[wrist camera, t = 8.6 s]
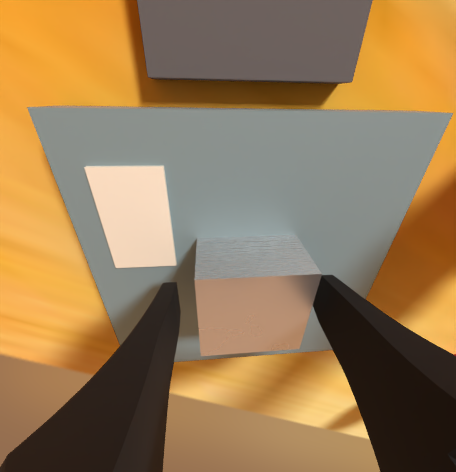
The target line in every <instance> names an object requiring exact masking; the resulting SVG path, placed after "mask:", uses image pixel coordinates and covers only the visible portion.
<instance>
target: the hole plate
mask: <svg viewBox="0 0 456 472" xmlns="http://www.w3.org/2000/svg"><path fill="white" fill-rule="evenodd" d="M27 108H28V111H29V113H30V116H31V118H32V121H33V123H34V126H35V129H36V131H37V134H38V136H39V139H40V141H41V144H42V146H43V149H44V152H45V154H46V157H47V159H48V162H49V164H50V167H51V170H52V172H53V175H54V177H55V180H56V182H57V185H58V188H59V190H60V193H61V195H62V198H63V200H64V203H65V205H66V208H67V211H68V213H69V216H70V218H71V221H72V223H73V226H74V229H75V231H76V234H77V236H78V239H79V241H80V244H81V247H82V249H83V252H84V254H85V257H86V259H87V262H88V264H89V267H90V270H91V272H92V275H93V277H94V280H95V282H96V285H97V288H98V290H99V293H100V295H101V298H102V300H103V303H104V305H105V308H106V311H107V313H108V316H109V318H110V321H111V323H112V326H113V329H114V331H115V334H116V336H117V339H118V341H119V344H120V346H121V344H122V343H123V342H124V341H125V339H126V338H127V337H128V335H129V334H130V333H131V331H132V330H133V329H134V327H135V326H136V325H137V323H138V322H139V320H140V319H141V318H142V316H143V315H144V313H145V312H146V310H147V309H148V307H149V305H150V304H151V302H152V301H153V299H154V297H155V296H156V294H157V292H158V290H159V289H160V287H161V285H162V284H163V283H166V282H177V288H178V295H179V303H180V310H181V314H180V328H179V336H178V342H177V348H176V353H175V359H174V362H180V361H193V360H207V359H220V358H233V357H246V356H259V355H273V354H286V353H299V352H312V351H325V350H333V349H332V347H331V345H330V343H329V341H328V339H327V337H326V335H325V334H324V332H323V330H322V328H321V326H320V323H319V321H318V319H317V316H316V313H315V310H314V307H313V305H312V309H311V312H310V315H309V319H308V322H307V325H306V328H305V332H304V335H303V338H302V342H301V345H300V348H299V349H291V350H278V351H265V352H251V353H238V354H225V355H211V356H201V352H200V340H199V328H198V316H197V304H196V292H195V263H196V246H197V238H214V237H245V236H275V235H296V236H297V237H298V239H299V240H300V242H301V243H302V245H303V246H304V248H305V249H306V251H307V252H308V254H309V255H310V257H311V258H312V260H313V261H314V263H315V264H316V266H317V267H318V269H319V270H320V272H321V273H322V275H334V276H335V277H336V278H338V279H339V280H340V281H342V282H343V283H344V284H346V285H347V286H348V287H350V288H351V289H352V290H354V291H355V292H356V293H358V294H359V295H360V296H361V297H363V298H364V299H366V297H367V295H368V293H369V291H370V289H371V287H372V284H373V282H374V280H375V278H376V276H377V274H378V272H379V270H380V268H381V265H382V263H383V261H384V259H385V257H386V255H387V253H388V251H389V248H390V246H391V244H392V242H393V240H394V238H395V236H396V234H397V231H398V229H399V227H400V225H401V223H402V221H403V219H404V217H405V214H406V212H407V210H408V208H409V206H410V204H411V202H412V200H413V197H414V195H415V193H416V191H417V189H418V187H419V185H420V183H421V180H422V178H423V176H424V174H425V172H426V170H427V168H428V166H429V163H430V161H431V159H432V157H433V155H434V153H435V151H436V149H437V146H438V144H439V142H440V140H441V138H442V136H443V134H444V132H445V129H446V127H447V125H448V123H449V121H450V119H451V117H452V115H453V113H441V112H424V111H387V110H318V109H249V108H180V107H111V106H44V107H27Z"/></svg>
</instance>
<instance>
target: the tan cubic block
mask: <svg viewBox="0 0 456 472" xmlns="http://www.w3.org/2000/svg"><path fill="white" fill-rule="evenodd" d="M321 276H322V273H321V272H320V270H319V269H318V267H317V266H316V264H315V263H314V261H313V260H312V258H311V257H310V255H309V254H308V252H307V251H306V249H305V248H304V246H303V245H302V243H301V242H300V240H299V239H298V237H297V236H296V235H275V236H245V237H214V238H197V246H196V263H195V292H196V304H197V316H198V328H199V340H200V352H201V356H211V355H225V354H238V353H251V352H265V351H278V350H291V349H299V348H300V345H301V342H302V338H303V335H304V332H305V328H306V325H307V322H308V319H309V315H310V312H311V309H312V305H313V302H314V299H315V295H316V292H317V289H318V286H319V282H320V279H321Z"/></svg>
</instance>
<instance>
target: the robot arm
mask: <svg viewBox="0 0 456 472" xmlns="http://www.w3.org/2000/svg"><path fill="white" fill-rule="evenodd" d="M313 307H314V310H315V313H316V316H317V319H318V321H319V323H320V326H321V328H322V330H323V332H324V334H325V335H326V337H327V339H328V341H329V343H330V345H331V347H332V349H333V351H334V353H335V355H336V357H337V359H338V361H339V363H340V365H341V367H342V369H343V371H344V373H345V375H346V377H347V380H348V382H349V385H350V387H351V390H352V392H353V395H354V397H355V400H356V402H357V405H358V408H359V410H360V413H361V416H362V418H363V421H364V424H365V426H366V429H367V432H368V435H369V438H370V441H371V444H372V446H373V449H374V452H375V456H376V459H377V462H378V465H379V468H380V472H456V356H455V355H453V354H451V353H449V352H448V351H446V350H444V349H442V348H440V347H438V346H436V345H435V344H433V343H431V342H429V341H428V340H426V339H424V338H422V337H421V336H419V335H418V334H416V333H414V332H413V331H411V330H409V329H408V328H406V327H404V326H403V325H401V324H400V323H398V322H397V321H395V320H394V319H392V318H391V317H389V316H388V315H386V314H385V313H383V312H382V311H381V310H379V309H378V308H376V307H375V306H374V305H372V304H371V303H370V302H368V301H367V300H365V299H364V298H363V297H361V296H360V295H359V294H358V293H356V292H355V291H354V290H352V289H351V288H350V287H348V286H347V285H346V284H344V283H343V282H342V281H340V280H339V279H338V278H336V277H335V276H334V275H322V276H321V279H320V282H319V286H318V289H317V292H316V295H315V299H314V302H313ZM180 314H181V310H180V303H179V295H178V288H177V282H166V283H163V284H162V285H161V287H160V289H159V290H158V292H157V294H156V296H155V297H154V299H153V301H152V302H151V304H150V305H149V307H148V309H147V310H146V312H145V313H144V315H143V316H142V318H141V319H140V320H139V322H138V323H137V325H136V326H135V327H134V329H133V330H132V331H131V333H130V334H129V335H128V337H127V338H126V339H125V341H124V342H123V343H122V344H121V346H120V347H119V348H118V349H117V350H116V352H115V353H114V354H113V355H112V356H111V357H110V359H109V360H108V361H107V362H106V363H105V364H104V365H103V366H102V367H101V369H100V370H99V371H98V372H97V373H96V374H95V375H94V376H93V377H92V378H91V379H90V380H89V381H88V382H87V383H86V384H85V386H83V387H82V388H81V389H80V390H79V391H78V392H77V393H76V394H75V395H74V396H73V397H72V398H71V399H70V400H69V401H68V402H67V403H66V404H65V405H64V406H63V407H62V408H61V409H59V410H58V411H57V412H56V413H55V414H54V415H53V416H52V417H51V418H50V419H49V420H47V421H46V422H45V423H44V424H43V425H42V426H41V427H40V428H38V429H37V430H36V431H35V432H34V433H33V434H31V435H30V436H29V437H28V438H27V439H26V440H24V442H22V443H21V444H20V445H19V446H18V447H16V448H15V449H14V450H13V451H12V452H10V453H9V454H8V455H7V457H6V459H5V461H4V462H3V464H2V465H1V467H0V472H162V471H163V458H164V444H165V432H166V420H167V408H168V398H169V389H170V381H171V376H172V370H173V364H174V359H175V353H176V348H177V342H178V336H179V328H180Z"/></svg>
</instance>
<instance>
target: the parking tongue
mask: <svg viewBox="0 0 456 472" xmlns="http://www.w3.org/2000/svg"><path fill="white" fill-rule="evenodd" d="M137 3H138V10H139V17H140V24H141V31H142V39H143V46H144V53H145V60H146V67H147V74H148V77H149V78H151V79H169V80H210V81H251V82H292V83H333V84H341V83H350V82H352V80H353V76H354V72H355V68H356V64H357V60H358V56H359V52H360V48H361V44H362V40H363V36H364V32H365V28H366V24H367V20H368V16H369V12H370V8H371V4H372V0H137Z"/></svg>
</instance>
